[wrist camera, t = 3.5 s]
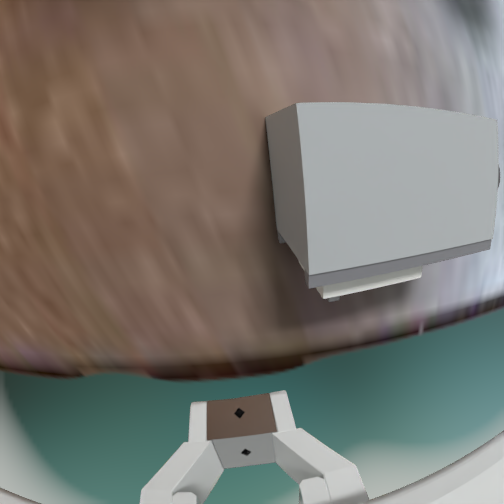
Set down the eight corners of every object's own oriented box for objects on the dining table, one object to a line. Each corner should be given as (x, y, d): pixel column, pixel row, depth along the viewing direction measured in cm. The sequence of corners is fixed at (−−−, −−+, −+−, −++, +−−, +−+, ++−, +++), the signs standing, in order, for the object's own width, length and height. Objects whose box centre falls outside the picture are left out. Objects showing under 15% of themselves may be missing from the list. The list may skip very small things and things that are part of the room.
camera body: (277, 239, 20) (309, 289, 13) (265, 117, 17) (296, 103, 10) (441, 216, 21) (504, 246, 14) (441, 119, 18) (510, 122, 11)
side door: (299, 271, 19) (323, 309, 15) (297, 238, 18) (323, 269, 14) (381, 256, 20) (419, 286, 15) (382, 226, 19) (423, 250, 14)
